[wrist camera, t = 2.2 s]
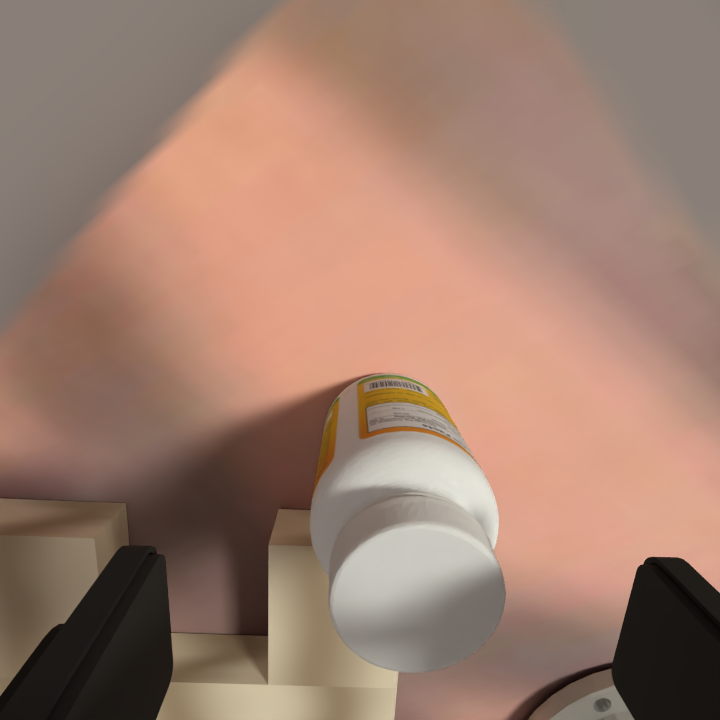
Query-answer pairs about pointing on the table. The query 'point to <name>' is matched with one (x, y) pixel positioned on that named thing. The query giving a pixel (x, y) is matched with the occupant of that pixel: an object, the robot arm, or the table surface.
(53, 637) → the robot arm
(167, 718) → the notched board
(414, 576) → the supplement bottle
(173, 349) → the table surface
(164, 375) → the table surface
